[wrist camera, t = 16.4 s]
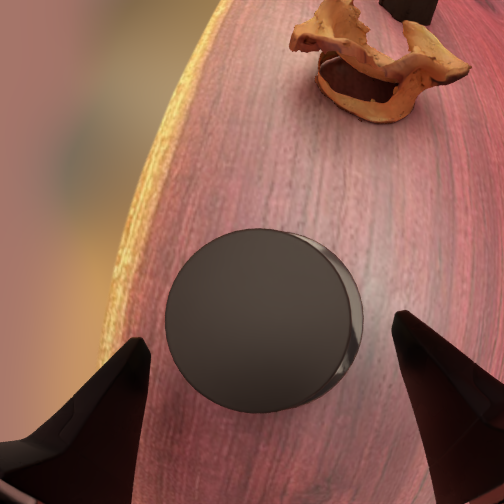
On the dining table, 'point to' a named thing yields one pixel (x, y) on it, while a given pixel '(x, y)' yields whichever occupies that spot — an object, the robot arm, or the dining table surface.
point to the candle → (411, 10)
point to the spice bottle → (258, 320)
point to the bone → (376, 60)
